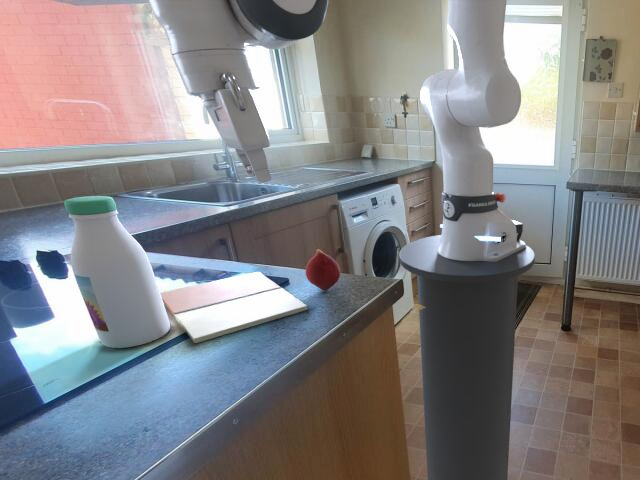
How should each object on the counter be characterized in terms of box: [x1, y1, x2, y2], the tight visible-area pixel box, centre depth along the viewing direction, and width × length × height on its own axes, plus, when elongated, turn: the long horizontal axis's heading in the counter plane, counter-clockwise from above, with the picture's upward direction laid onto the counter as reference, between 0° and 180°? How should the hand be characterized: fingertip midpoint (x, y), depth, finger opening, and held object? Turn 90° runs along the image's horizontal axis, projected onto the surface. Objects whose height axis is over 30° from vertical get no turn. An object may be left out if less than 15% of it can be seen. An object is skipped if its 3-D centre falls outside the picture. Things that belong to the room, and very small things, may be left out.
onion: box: [304, 249, 341, 291], centre depth 76 cm, size 6×6×8 cm
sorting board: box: [160, 271, 309, 344], centre depth 70 cm, size 16×22×1 cm
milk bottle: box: [63, 195, 171, 349], centre depth 56 cm, size 8×8×20 cm
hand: (259, 178), depth 63 cm, fingers open, 8 cm apart
